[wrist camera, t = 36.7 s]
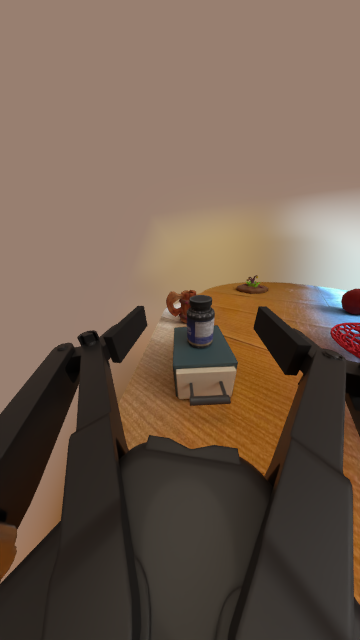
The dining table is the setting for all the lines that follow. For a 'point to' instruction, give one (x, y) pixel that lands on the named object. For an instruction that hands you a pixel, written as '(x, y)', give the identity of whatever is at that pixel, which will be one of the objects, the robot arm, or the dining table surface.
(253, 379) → the dining table surface
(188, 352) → the cabinet
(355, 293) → the apple
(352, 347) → the bowl
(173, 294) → the mug
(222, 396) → the drawer
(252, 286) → the plant
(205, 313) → the pill bottle
